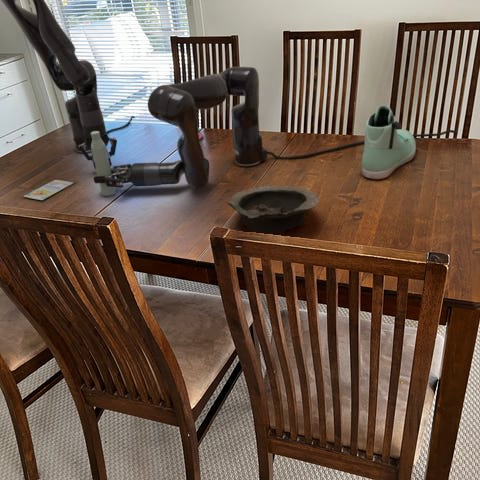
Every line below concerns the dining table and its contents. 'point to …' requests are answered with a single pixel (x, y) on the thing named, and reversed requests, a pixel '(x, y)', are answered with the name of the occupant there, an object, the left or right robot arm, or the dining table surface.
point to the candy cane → (200, 136)
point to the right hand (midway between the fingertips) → (96, 176)
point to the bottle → (101, 161)
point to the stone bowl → (273, 207)
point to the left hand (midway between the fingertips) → (103, 168)
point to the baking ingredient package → (48, 189)
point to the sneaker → (385, 145)
